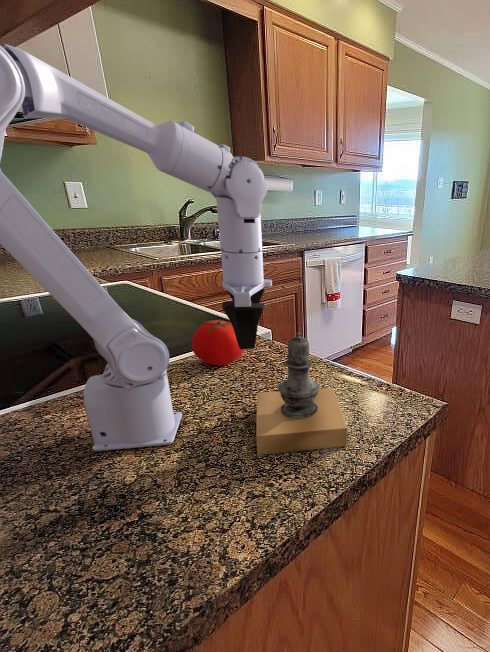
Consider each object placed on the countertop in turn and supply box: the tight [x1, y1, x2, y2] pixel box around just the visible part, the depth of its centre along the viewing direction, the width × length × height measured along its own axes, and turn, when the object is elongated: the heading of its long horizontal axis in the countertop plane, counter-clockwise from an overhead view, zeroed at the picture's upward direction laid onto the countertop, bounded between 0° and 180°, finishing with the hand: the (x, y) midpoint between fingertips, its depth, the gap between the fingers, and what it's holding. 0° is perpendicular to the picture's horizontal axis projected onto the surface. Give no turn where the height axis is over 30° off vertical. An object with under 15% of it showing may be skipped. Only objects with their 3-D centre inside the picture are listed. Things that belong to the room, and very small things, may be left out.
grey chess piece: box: [277, 330, 321, 419], centre depth 55 cm, size 6×6×12 cm
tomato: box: [191, 319, 246, 367], centre depth 77 cm, size 9×10×8 cm
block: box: [255, 387, 348, 456], centre depth 58 cm, size 12×12×3 cm
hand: (247, 339), depth 62 cm, fingers open, 7 cm apart
